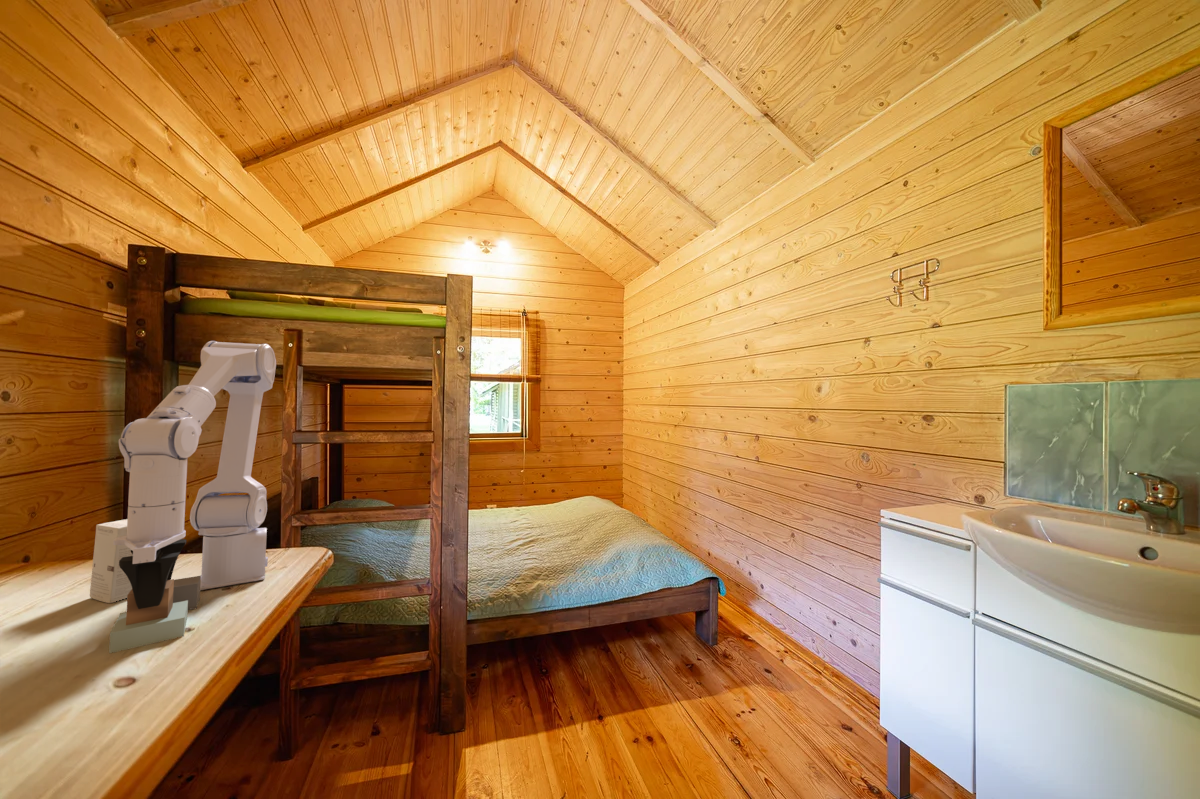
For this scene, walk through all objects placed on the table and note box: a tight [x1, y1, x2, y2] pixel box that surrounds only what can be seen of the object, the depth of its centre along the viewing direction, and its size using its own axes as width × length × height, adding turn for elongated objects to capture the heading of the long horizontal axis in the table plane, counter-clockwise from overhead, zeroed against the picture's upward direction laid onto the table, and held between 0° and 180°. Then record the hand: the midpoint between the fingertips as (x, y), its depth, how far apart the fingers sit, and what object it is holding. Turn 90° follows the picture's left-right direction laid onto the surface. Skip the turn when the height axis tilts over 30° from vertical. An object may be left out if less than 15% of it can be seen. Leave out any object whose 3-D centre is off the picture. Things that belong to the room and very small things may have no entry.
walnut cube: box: [126, 578, 175, 625], centre depth 61 cm, size 4×4×4 cm
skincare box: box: [89, 518, 133, 604], centre depth 73 cm, size 6×4×12 cm
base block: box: [108, 600, 189, 654], centre depth 61 cm, size 7×7×3 cm
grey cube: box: [173, 575, 201, 611], centre depth 70 cm, size 4×4×4 cm
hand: (152, 600), depth 62 cm, fingers closed on walnut cube, 4 cm apart
